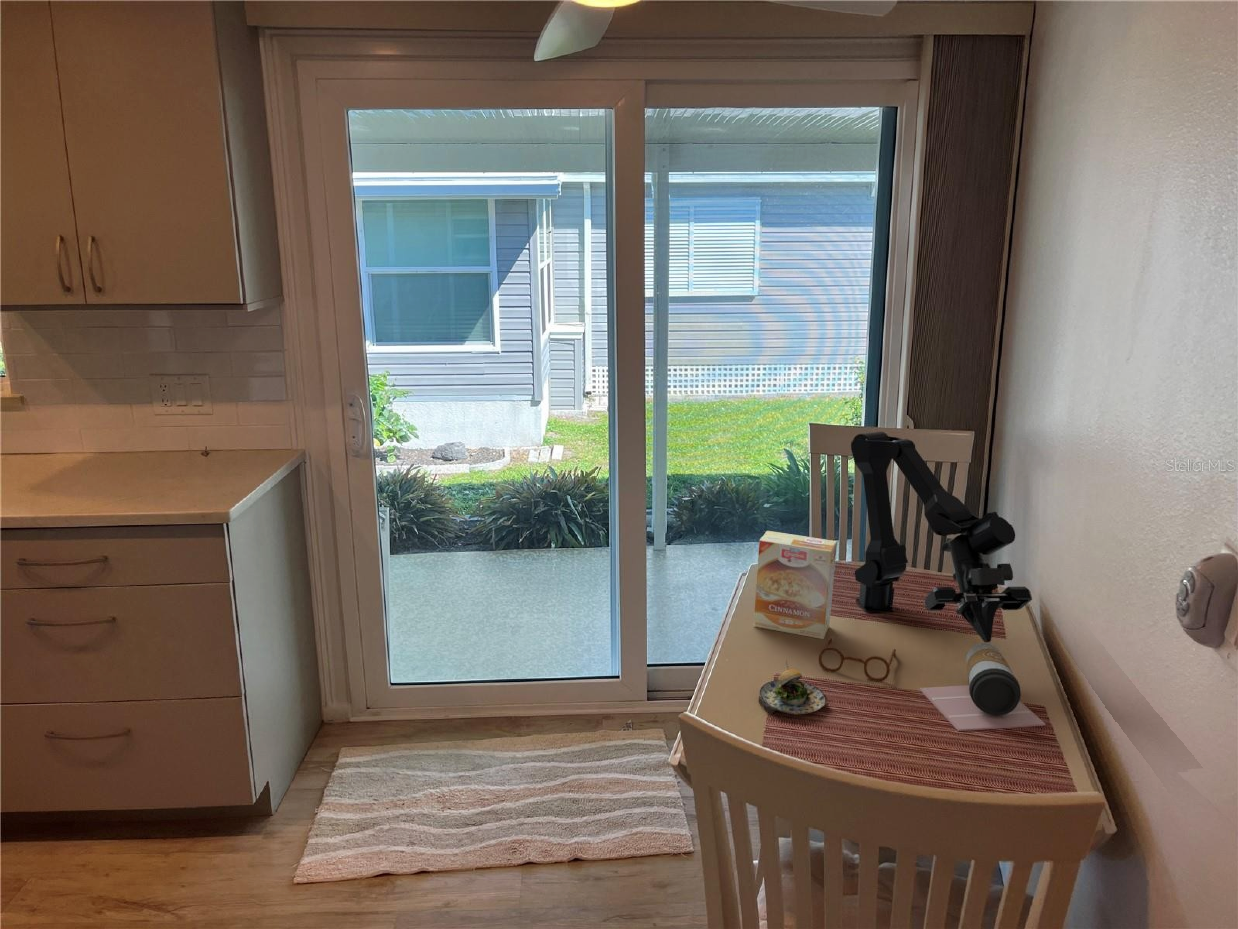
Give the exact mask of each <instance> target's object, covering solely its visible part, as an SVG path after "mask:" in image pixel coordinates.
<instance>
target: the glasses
mask: <svg viewBox="0 0 1238 929" xmlns="http://www.w3.org/2000/svg"><path fill="white" fill-rule="evenodd" d="M833 641H834V640H833V637H830V638H829V639H828V640H827V643H826V644H825V646H823V648H822V649H821V650H820V652H819V654H818V663H819V666H820V667H821V668H822V669H823V670H824V671H825V672H829V671H831V672H830V673H836V672H839V671H840V670H841V669H842V668H843V665H844V662H845V660H848V661H853V662H858V663H861V664H863V672H864V676H865V677H866V678H867V679H868V680H871V682H872V681H873V682H877V683H878V682H879V683H880V682H883V681H886V680H887V678H888V677H889V675H890V672H891V669H890V667H891V664H892V662H893V660H894V657H895V656H896V651H897V650H896V649H895V648H893V651H892V652H891V655H890V658H889V659H888V660H889V661H887V660H886V659H885V658H884V657H882V656H878V655H877V656H876V655H872V656H869V657H867V658H866V659H865V660H863V658H861V657H860V658H859V657H854V656H849V655H848V656H847V655H846V656H845V655H844V653H843V652H842V651H841V650H840V649H838V648H836V647H833V646H830V644H833ZM827 651H833V652H834V653H837V655H839V657H840V662H839V665H838V667H836V668H830V667H827V666H826V665H825V664H824V663H823V659H822V658H823V656H824V653H825V652H827ZM873 660H878V661H881V662H882V663H883V664H884V665H885V667H886V672H885V674H884V676H883V677H879V678H878V677H873V676H872V675H870V674H869V672H868V664H869V662H871V661H873Z"/></svg>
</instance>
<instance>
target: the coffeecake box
mask: <svg viewBox="0 0 1238 929" xmlns="http://www.w3.org/2000/svg"><path fill="white" fill-rule="evenodd" d="M758 541H759V542H758V543H759V544H758V552H757V553H758V554H757V566H756V567H757V568H756V569H757V570H756V583H755V598H754V612H753V613H754V614H753V627H754V628H755V627H756V628H760V629H765V630H771V631H777V632H783V633H787V634H793V635H799V636H804V637H809V638H816V639H821V640H824V639H825V637H826V634H827V632H828V630H829V627H830V623H831V611H832V601H833V591H834V578H835V568H836V559H837V558H836V557H837V546H838V541H837V540H831V539H824V538H819V537H818V538H817V537H813V536H804V535H800V534H799V535H798V534H794V533H793V534H791V533H785V532H778V531H771V530H766V531H765V533H764V534H763V536H761V537H760V539H759V540H758Z"/></svg>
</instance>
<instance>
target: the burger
mask: <svg viewBox="0 0 1238 929" xmlns="http://www.w3.org/2000/svg"><path fill="white" fill-rule="evenodd" d="M786 663H788V661H787V659H786ZM786 667H787V669H786V670H784V671H783V672H782V673H781V674H780V675H779V677H778V679H774V680H770V681H768V682H766V683H765V684H763V685H762V686H761V687H760V690H759V696H758V703H759V705H760V707H761V708H763V710H764V711H766V712H767V713H768V714H770V715H773V714H774V713H775V711H778V712H780V713H783V714H790V715H805V714H810V713H811V714H812V713H813V712H814V713H815V712H817V711H820V709H821V708H823V707H824V706H826V703H827V702H828V696H827V695H826V694H824V693H823V690H822V689H821V690H820V689H819V687H817V686H815V685H813V684H810V683H808V682H804V681H801V680H800V679H802V678H803V675H802V673H801V672H800V671H798V670H797V669H789V666H788V665H786Z"/></svg>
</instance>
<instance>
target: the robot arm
mask: <svg viewBox="0 0 1238 929" xmlns="http://www.w3.org/2000/svg"><path fill="white" fill-rule="evenodd" d="M850 450H851V454H852V458H853V461H854V465H855V466H856V467H857V469H858V470H859V471H860V473H861V474H862V477H863V485H864V492H865V493H864V494H865V502H866V509H867V510H866V511H867V520H868V527H869V534H870V536H869V537H870V540H869V543H868V545H867V547H866V550H865V553H864V554H865V555H864V558H865V559H864V564H863V565H861V566H860V567H859V568H857V569H856V570H854V576H855V577H854V578H855V581H856V582H858V583H859V584H860V585H859V595H858V596H859V597H858V598H856V599H855V602H856V604H858V606H859V607H860V608H861V609H862V610H863V611H864V612H865V613H869V614H870V613H889V612H890V613H893V612H894V611H895V609H894V608H893V607H892V606H893V605H894V597H895V588H894V583H895V582H899V581H900V578H901V576H902V575H903V574H904V573H905V571H906V570H907V564H908V563H909V561H908V558H907V547H906V545H905V544H900V543H899V542H898V540H897V539H896V537H895V534H894V526H893V525H894V524H893V518H892V517H893V515H892V508H891V507H892V506H891V500H890V492H889V482H888V476H887V474H888V469H889V467H890V464H891V462H892V460H893V461H894V463H895V464H896V466H897V467H898V468H899V470H900V472H901V473H902V474H903V476H904V477H905V479H906V480H907V482H908V483H909V484H910V486H911V487H912V489H913V490H914V492H915V493H916V495H917V496H918V498H919V499H920V500H921V503H922V504H923V509H924V510H923V511H924V517H925V520H926V521H927V523H928V525H929V528H930V529H931V531H932V532H933V533H934V534H935V535H936V536H941V537H946V536H950V535H953V536H955V535H957V536H955V537H951V538H950V537H947V538H946V540H945V542H944V543H943V544H942V546H941V547H940V549H941V551H942V552H948V553H950V556H951V560H952V565H953V568H954V573H953V575H952V578H953V580H954V581H956V582H957V586H958V589H959V592H956V591H957V590H956V589H955V587H953V586H934V587H933V589H932V590H931V591H930V592H929V593H928V594H927V595H926V596H925V598H924V605H925V609H926V611H928V612H933V611H934V612H935V611H936V612H938V611H939V612H941V611H943V610H944V608H945V607H946V604H957V607H958V609H957V610H956V611H955V613H956V615H960V616H961V617H963V619H965V621H967V623H968V624H970V626H971V627H972V628H973V629H974V631H975V632H976V633H977V634H978V636H979V637H980V639H981V640H982V641H983V642H984V644H989V643H990V642H991V641H992V634H993V629H994V628H993V627H994V620H995V616H996V613H997V611H998V610H999V609H1000V608H1001V609H1002V610H1003V611H1018V610H1021V609H1022V608H1024V607H1025V606H1026V605H1028V604H1029V603H1030V602H1031V601H1032V600H1033V596H1032V593H1031V590H1030V589H1029V588H1028V587H1026V586H1007V587H1006V588H1005V589H1004V590H1003V591H1001V592H993V591H996V590H997V589H998V588H999V587H998V586H1005V585H1006V583H1005V581H1007V582H1009V581H1013V579H1014V571H1013V568H1012V566H1011V563H998V564H996V567H991V565H990V564H989V563H986V562H985V558H984V556H990V555H993V554H994V553H997V551H999V550H1001V549H1003V548H1006V546H1009V545H1011V544H1013V542H1014V541H1015V539H1016V532H1015V529H1014V527H1013V525H1012V524H1010V523H1009V521H1007V520H1006V519H1005V518H1004V517H1001V516H999V514H998V512H997V511H990V512H988V513H986V514H984V515H983V516H982V517H979V516H977V515H975V514H974V513H972V512H971V511H970V509H969V508H968V507H967V506H966V505H965V504H964V503H963V502H962V500H960V499H959V498H958V497H956V496H955V495H953V494H952V493H950V492H948V491H947V490H946V489H945V488H944V487H943V485H942V484H941V482H940V481H939V480H938V478H937V477H936V476H935V474H934V472H932V470H931V468H930V467H929V465H928V464H927V463H926V462H925V460H924V459H923V457H922V456H921V455H920V453H919V452H918V450H917V448H916V445H915V442H913V441H912V440H911V439H910V438H909V439H908V438H902V437H898V436H891V435H890V436H889V435H888V434H887V433H886V432H884V431H873V432H866V433H865V432H863V433H858V434H856V435H855V436H854V437H853V439H852V440H851V443H850ZM965 533H966V534H965Z"/></svg>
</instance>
